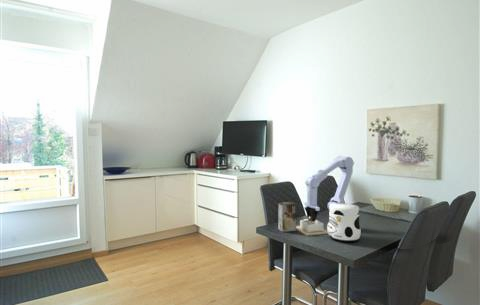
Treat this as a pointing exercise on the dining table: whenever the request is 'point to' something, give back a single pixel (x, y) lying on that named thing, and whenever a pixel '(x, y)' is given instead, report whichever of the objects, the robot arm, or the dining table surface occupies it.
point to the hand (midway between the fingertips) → (311, 220)
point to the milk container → (344, 222)
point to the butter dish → (311, 227)
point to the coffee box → (287, 216)
